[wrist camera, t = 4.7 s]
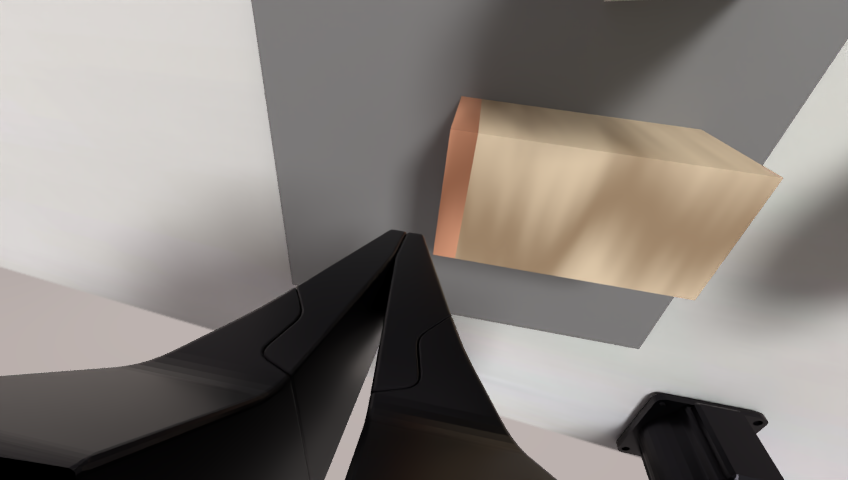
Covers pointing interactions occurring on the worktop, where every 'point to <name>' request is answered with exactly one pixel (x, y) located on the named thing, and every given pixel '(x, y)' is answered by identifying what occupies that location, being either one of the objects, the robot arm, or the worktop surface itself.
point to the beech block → (594, 197)
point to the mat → (520, 84)
